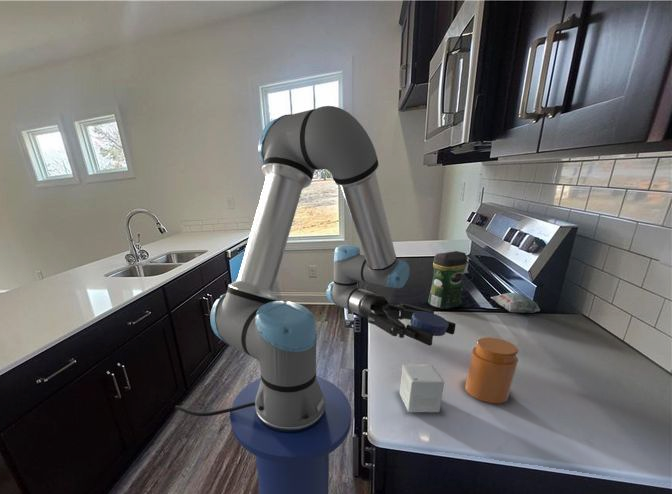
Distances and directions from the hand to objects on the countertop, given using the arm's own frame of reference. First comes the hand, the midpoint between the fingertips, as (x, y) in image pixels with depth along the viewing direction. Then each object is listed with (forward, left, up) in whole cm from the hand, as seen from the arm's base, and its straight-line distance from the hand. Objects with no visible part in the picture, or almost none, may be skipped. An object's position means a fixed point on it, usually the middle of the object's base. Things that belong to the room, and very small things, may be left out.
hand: (443, 334), depth 74 cm
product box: (-6, -16, -8) cm, 19 cm away
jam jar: (+8, -9, -8) cm, 14 cm away
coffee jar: (+6, +39, -8) cm, 40 cm away
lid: (-3, +2, +2) cm, 4 cm away
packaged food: (+26, +39, -8) cm, 48 cm away
